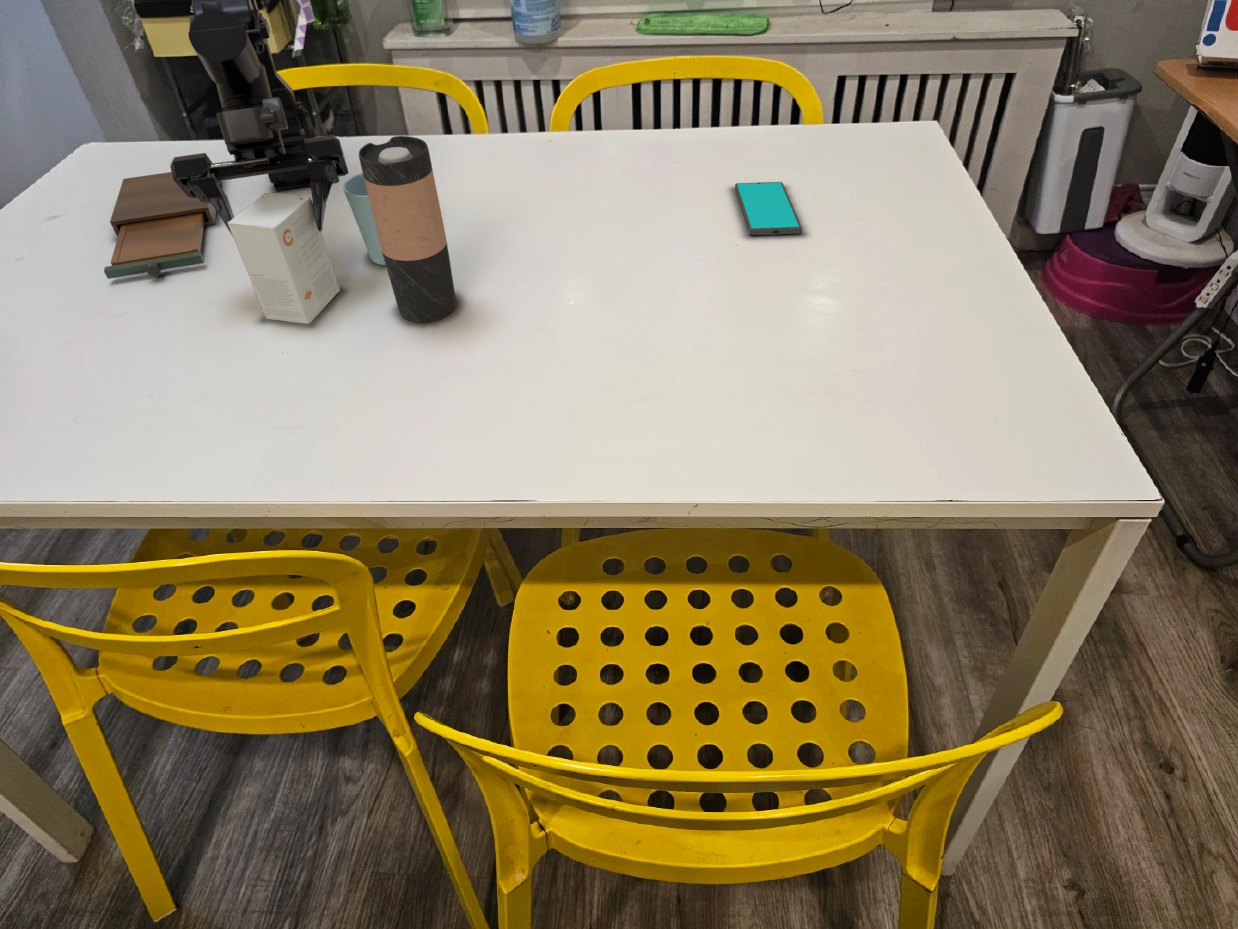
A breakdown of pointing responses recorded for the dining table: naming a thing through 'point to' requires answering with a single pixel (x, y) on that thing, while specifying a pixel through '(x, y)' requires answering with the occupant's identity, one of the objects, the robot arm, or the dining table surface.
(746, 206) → the smartphone
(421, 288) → the travel mug
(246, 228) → the small box
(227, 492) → the dining table surface
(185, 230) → the drawer
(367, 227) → the cup
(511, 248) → the dining table surface
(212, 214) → the cabinet
